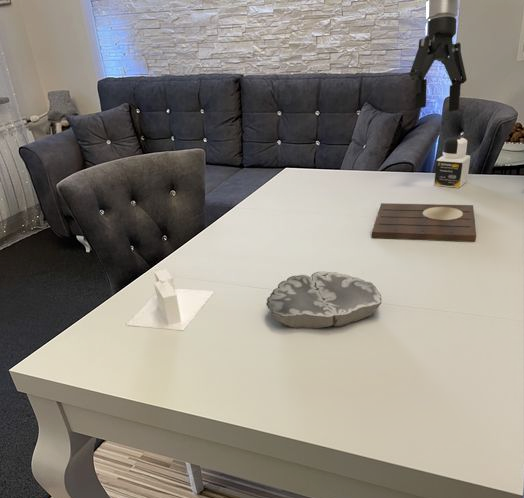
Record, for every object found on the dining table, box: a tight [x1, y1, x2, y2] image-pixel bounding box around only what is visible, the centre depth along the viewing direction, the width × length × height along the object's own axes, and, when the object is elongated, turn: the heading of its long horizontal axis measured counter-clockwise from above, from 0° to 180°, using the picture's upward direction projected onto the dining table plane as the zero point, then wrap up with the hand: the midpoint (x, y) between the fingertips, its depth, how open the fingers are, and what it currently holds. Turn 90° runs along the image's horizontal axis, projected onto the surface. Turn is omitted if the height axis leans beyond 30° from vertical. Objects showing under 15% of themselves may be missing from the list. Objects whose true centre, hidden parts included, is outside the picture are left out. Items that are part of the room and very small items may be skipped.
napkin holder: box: [126, 268, 215, 331], centre depth 97 cm, size 15×11×6 cm
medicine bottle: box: [433, 136, 471, 189], centre depth 147 cm, size 7×7×12 cm
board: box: [370, 202, 477, 243], centre depth 125 cm, size 22×20×2 cm
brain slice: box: [265, 271, 382, 329], centre depth 94 cm, size 20×17×3 cm
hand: (437, 109), depth 143 cm, fingers open, 13 cm apart
